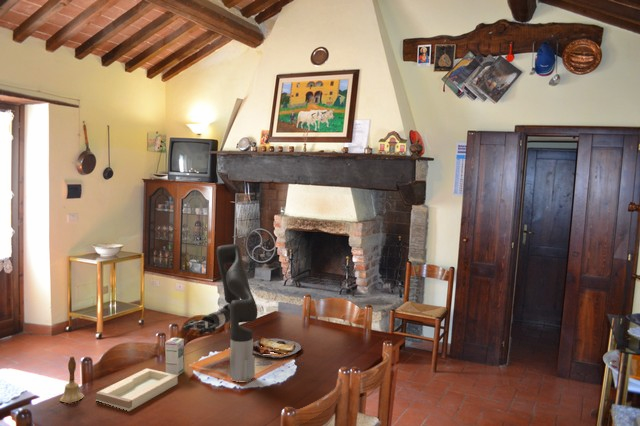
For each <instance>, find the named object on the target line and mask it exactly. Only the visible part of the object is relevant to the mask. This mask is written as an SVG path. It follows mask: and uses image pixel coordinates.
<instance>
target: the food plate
mask: <svg viewBox="0 0 640 426" xmlns="http://www.w3.org/2000/svg"><path fill="white" fill-rule="evenodd" d="M261 346H262V347H261ZM273 348H274V349H279V350H274V349H273ZM301 349H302V347H301V345H300V343H298V342H296V341H293V340H291V339H286V338H285V339H284V338H266V337H261V338H260V340H259V339H258V340H255V341H253V354H255V355H259V356H261V357H263V358H284V357H288V356H291V355H294V354H296V353H298V351H300V350H301ZM270 352H274V353H278V355H276V356H275V355H272V356H271V355H270V356H268V355H263V354H270ZM284 353H288V354H286V355H280V354H284Z"/></svg>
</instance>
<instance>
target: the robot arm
mask: <svg viewBox="0 0 640 426" xmlns="http://www.w3.org/2000/svg"><path fill="white" fill-rule="evenodd" d="M216 256H217V257H216V258H217V264H218V269H219V273H220V277H221V281H222V285H223V295H224V301H225V302H226V303H227V304H225V305H224V306H223V307H222V308H220V309H218V310H217V311H213V312H210V313H209V314H206V315H204V316H203V317H202V319H201V320H198V321H196V319H192V320H190V321H187V322H185V325H184V326H183V327H182V328H183V329H182V331H183V332H188V331H190V330H194V331H197V330H198V335H200V336H201V335H203V334H208V333H209V334H213V333H215V332H216V331H218V330H219V328H220V327H222V326H223V325H226V324H228V323H229V322H230V341H229V343H230V345H229V346H230V348H229V349H230V350H229V351H230V354H229V355H230V362H229V363H230V368H229V371H230V372H229V374H230V375H229V378H230V377H231V378H232V380H235V381H238V382H239V381H245V382H246V384H248V383H249V382H251V381H252V380H253V379H254V378H253V377H254V376H255V371H256V370H255V368H256V365H255V364H256V356H255V355H254V353H253V342H254V333H253V330H252V329H250V328H248V327H244V326H242V325H240V324H241V323H250V322H255V321H256V320H257V318H258V307H257V304H256V300H255V298H254V295H253V294H252V291H251V288H250V285H249V280H248V276H247V272H246V270H245V267H244V264H243V258H242V253H241V250H240V247H239V245H238V244H236V243H235V244H234V243H232V244H224V245H220V246H218V247H216ZM226 265H231V266H230V267H229V269H227V266H226ZM252 378H253V379H252ZM251 379H252V380H251Z"/></svg>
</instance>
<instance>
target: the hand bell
mask: <svg viewBox="0 0 640 426" xmlns="http://www.w3.org/2000/svg"><path fill="white" fill-rule="evenodd" d="M67 366H68V372H69V382H68V383H66V385H65V386H64V392H63V394H62V396H61V397H60V398H59V402H60V401H62V402H74V401H77V400H80V399H82V398H83V397H84V398H85V395H84V394H83V393H82V392H81V390H80V386H79V383H78V382H75V380H76V379H75V371H76V366H77V363H76V360H75V357H74V356H70V358H69V361H68V364H67ZM84 398H83V399H84ZM83 399H82V400H83Z"/></svg>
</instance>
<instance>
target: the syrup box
mask: <svg viewBox="0 0 640 426" xmlns="http://www.w3.org/2000/svg"><path fill="white" fill-rule="evenodd" d="M164 344H165V351H164V352H165V373H169V374H174V375H177V377H179V375H181V374H183V373H184V372H185V339H184V338H182V337H171V338H170V339H168V340H166V341H165V343H164Z"/></svg>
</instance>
